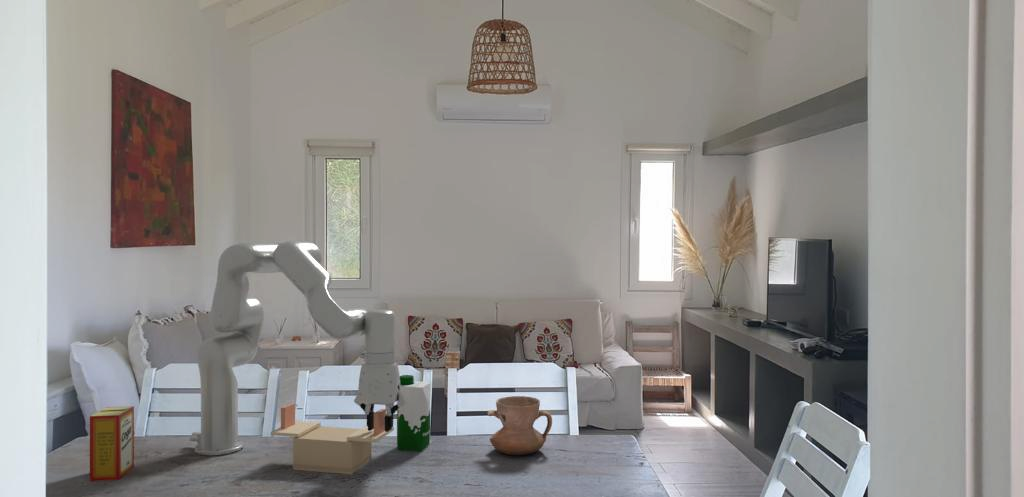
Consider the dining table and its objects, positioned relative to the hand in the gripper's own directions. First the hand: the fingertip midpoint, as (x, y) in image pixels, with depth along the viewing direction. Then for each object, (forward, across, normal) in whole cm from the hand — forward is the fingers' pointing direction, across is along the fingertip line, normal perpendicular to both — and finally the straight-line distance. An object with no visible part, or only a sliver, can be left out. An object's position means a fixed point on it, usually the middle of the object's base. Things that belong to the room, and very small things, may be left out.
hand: (379, 429), depth 176 cm
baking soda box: (+10, -63, -19) cm, 67 cm away
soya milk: (+10, +2, +19) cm, 22 cm away
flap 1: (+2, -24, 0) cm, 24 cm away
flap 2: (+2, -2, 0) cm, 3 cm away
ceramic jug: (+10, +32, +22) cm, 40 cm away
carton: (+10, -13, 0) cm, 16 cm away
